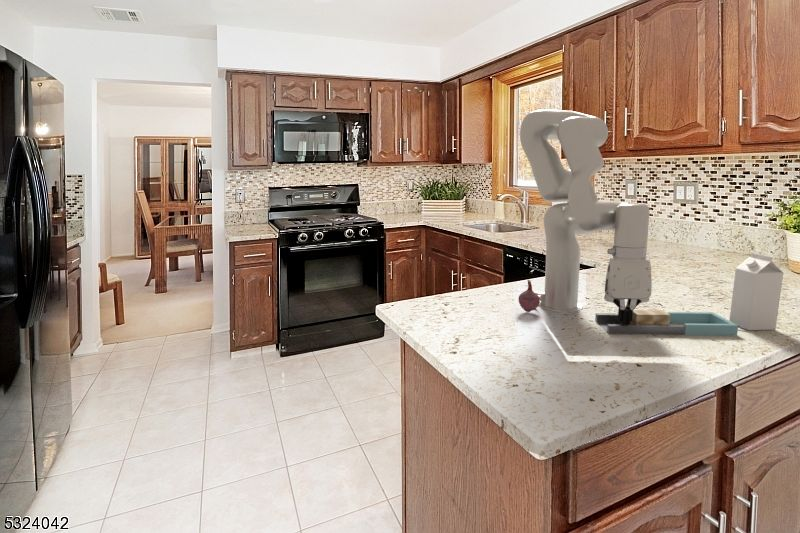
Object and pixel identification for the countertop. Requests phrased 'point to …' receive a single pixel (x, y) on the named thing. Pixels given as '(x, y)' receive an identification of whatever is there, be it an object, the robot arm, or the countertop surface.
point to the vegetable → (529, 299)
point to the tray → (715, 328)
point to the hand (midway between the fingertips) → (624, 323)
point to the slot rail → (635, 326)
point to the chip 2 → (660, 317)
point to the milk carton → (756, 293)
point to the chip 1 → (642, 317)
